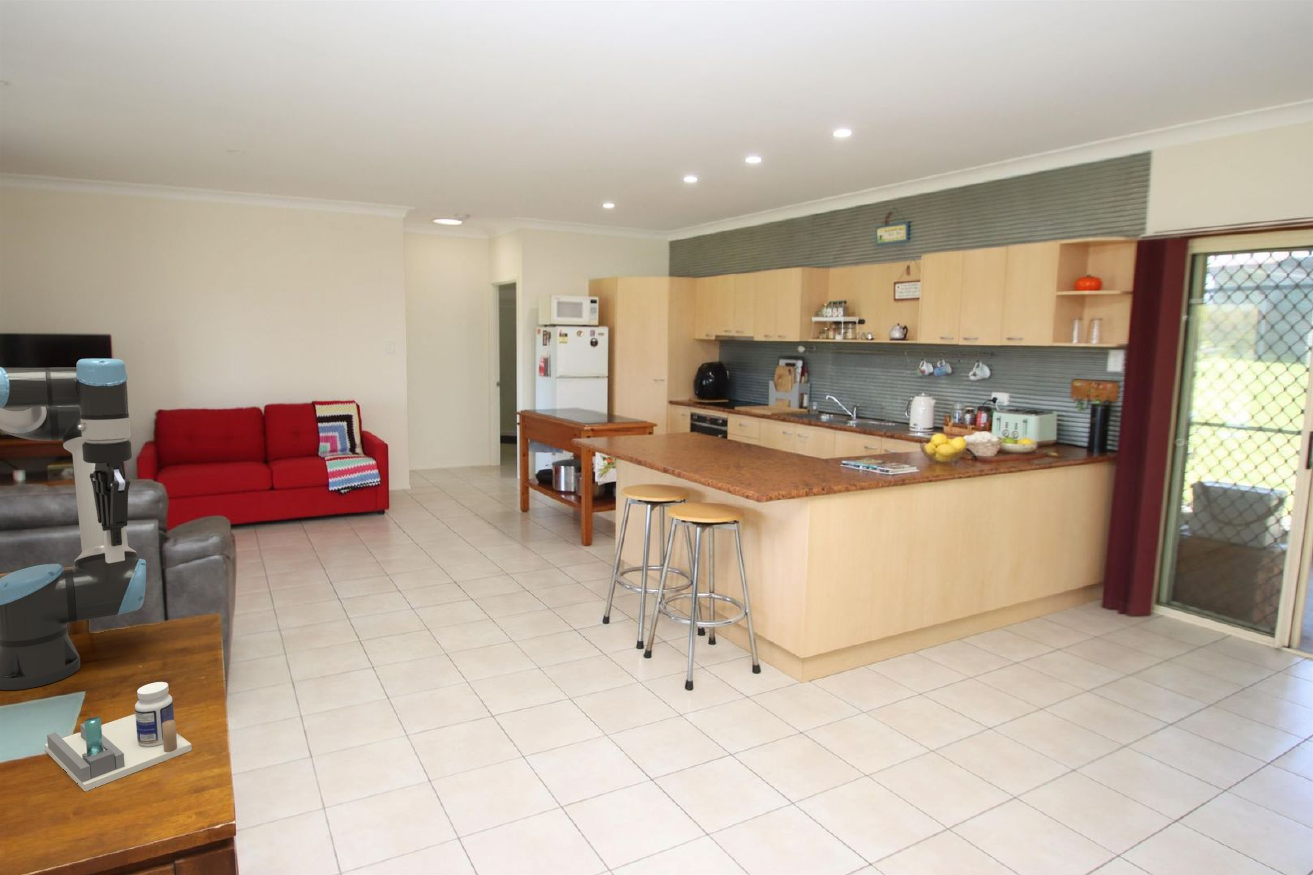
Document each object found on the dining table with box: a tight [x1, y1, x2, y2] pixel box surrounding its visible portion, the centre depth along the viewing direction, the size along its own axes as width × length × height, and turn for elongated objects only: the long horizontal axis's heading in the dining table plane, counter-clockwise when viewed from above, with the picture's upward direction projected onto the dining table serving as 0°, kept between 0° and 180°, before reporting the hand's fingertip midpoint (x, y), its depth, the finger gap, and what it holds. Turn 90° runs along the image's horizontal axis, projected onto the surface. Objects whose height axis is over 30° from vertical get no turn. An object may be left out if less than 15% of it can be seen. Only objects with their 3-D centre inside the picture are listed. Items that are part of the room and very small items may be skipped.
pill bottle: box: [134, 681, 175, 747], centre depth 136 cm, size 6×6×10 cm
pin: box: [82, 716, 105, 761], centre depth 127 cm, size 3×3×8 cm
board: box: [44, 713, 193, 792], centre depth 134 cm, size 20×16×6 cm
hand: (115, 560), depth 145 cm, fingers closed
